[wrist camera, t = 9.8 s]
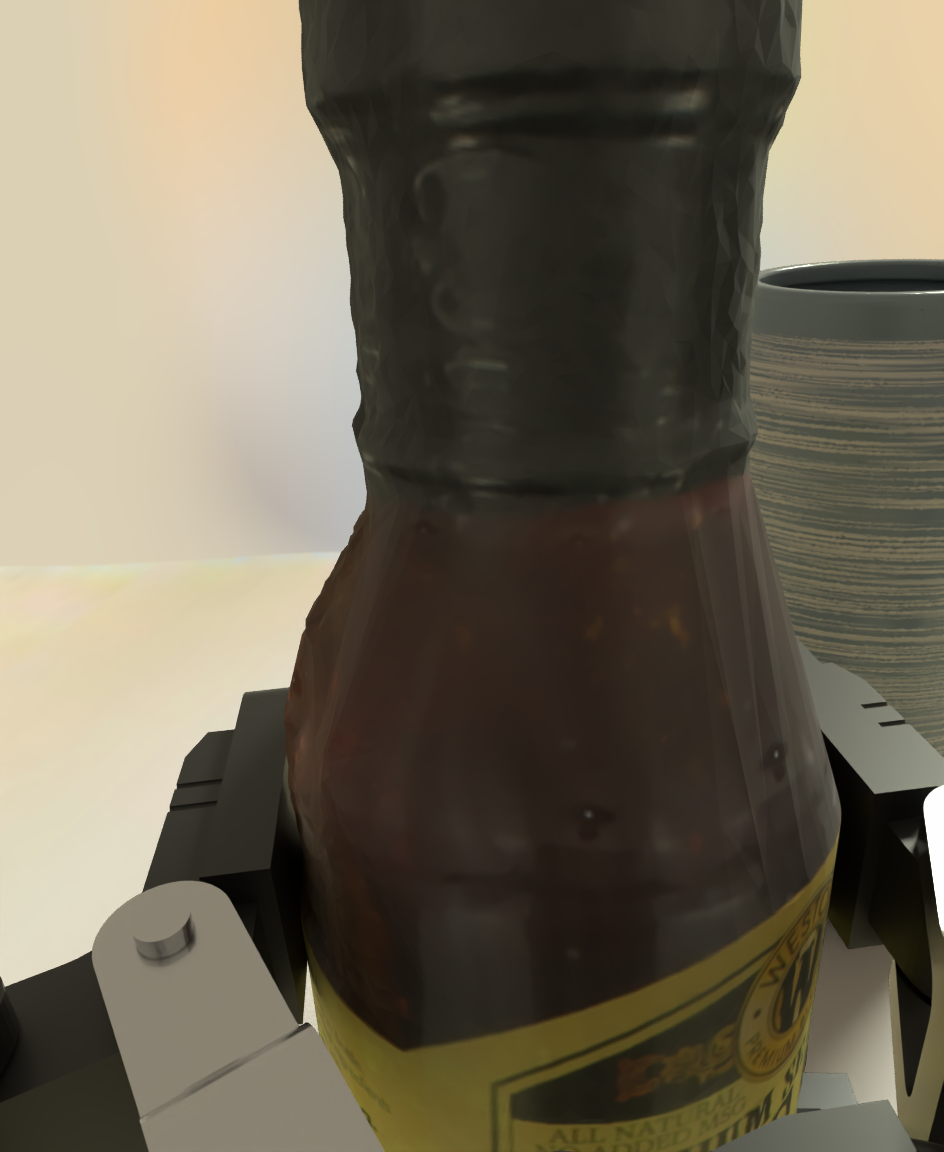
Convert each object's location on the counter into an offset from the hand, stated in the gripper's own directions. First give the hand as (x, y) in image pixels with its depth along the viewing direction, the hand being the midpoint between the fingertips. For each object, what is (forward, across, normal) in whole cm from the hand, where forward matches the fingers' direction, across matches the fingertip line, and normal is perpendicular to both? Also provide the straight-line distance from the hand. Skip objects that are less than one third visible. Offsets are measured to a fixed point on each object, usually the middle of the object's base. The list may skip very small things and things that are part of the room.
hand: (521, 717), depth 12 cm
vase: (+17, -14, +20) cm, 30 cm away
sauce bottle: (-2, 0, +11) cm, 11 cm away
